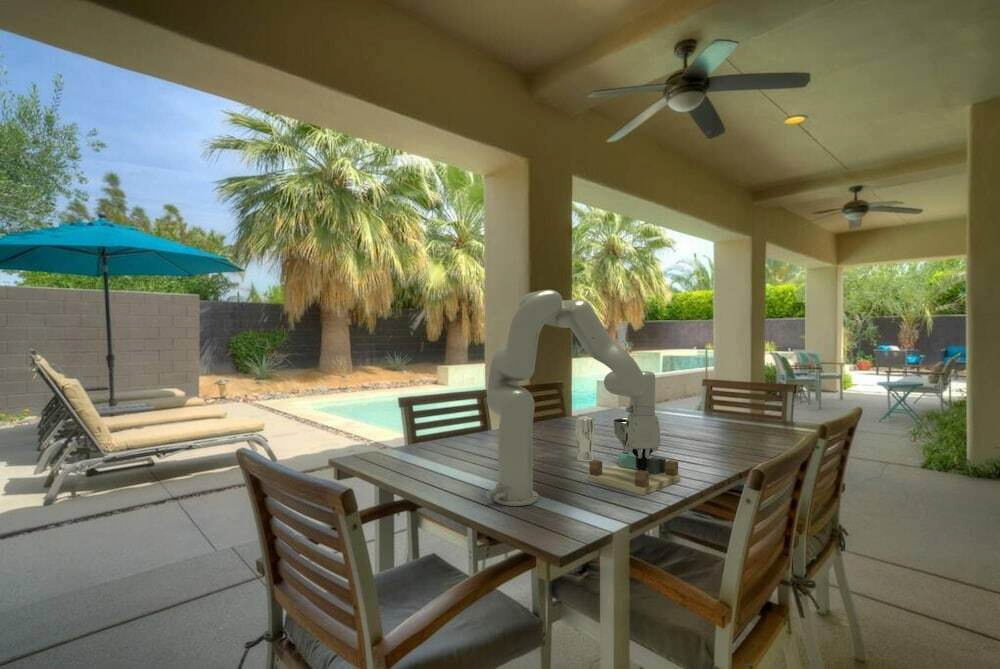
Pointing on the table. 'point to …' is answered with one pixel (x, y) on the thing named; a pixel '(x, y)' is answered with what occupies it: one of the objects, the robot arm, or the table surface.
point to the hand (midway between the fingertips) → (641, 470)
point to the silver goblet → (620, 431)
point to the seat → (634, 477)
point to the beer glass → (585, 438)
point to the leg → (630, 462)
